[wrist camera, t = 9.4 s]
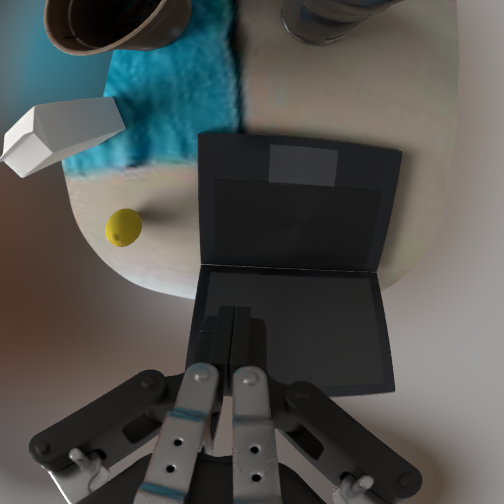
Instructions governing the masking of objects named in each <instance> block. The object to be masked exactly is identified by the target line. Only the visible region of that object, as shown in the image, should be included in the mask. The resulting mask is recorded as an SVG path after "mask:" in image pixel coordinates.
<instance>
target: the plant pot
mask: <svg viewBox="0 0 504 504" xmlns="http://www.w3.org/2000/svg"><path fill="white" fill-rule="evenodd" d="M131 1H132V0H47V1H46V5H45V10H44V24H45V29H46V33H47V35H48V37H49V39H50V41H51V42H52V43H53V45H55V46H56V47H57V48H58V49H59V50H61V51H63V52H65V53H68V54H72V55H81V56H83V55H94V54H98V53H102V52H105V51H112V50H116V49H123V50H138V51H150V50H154V49H158V48H161V47H164V46H166V45H168V44H169V43H171V42H172V41H174V40H175V39H176V38H177V37H178V36H179V35H180V34H181V33H182V32H183V31H184V30H185V28H186V27H187V25H188V23H189V21H190V18H191V15H192V3H191V0H135V1H134V2H133V3H132V4H131V5H130V7H129V9H128V10H126V7H127V6H128V4H129V3H130V2H131ZM150 3H152V4H153V5H152V7H149V4H150ZM139 16H142V18H141V19H139Z"/></svg>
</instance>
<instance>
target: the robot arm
mask: <svg viewBox="0 0 504 504" xmlns="http://www.w3.org/2000/svg"><path fill="white" fill-rule="evenodd" d="M402 1H404V0H285V1H284V4H283V7H282V11H281V19H282V23H283V25H284V27H285V29H286V30H287V32H288V33H289V34H290V35H291V36H292V37H294V38H295V39H296V40H298V41H300V42H302V43H305V44H308V45H313V46H325V45H329V44H332V43H334V42H336V41H337V40H339V39H341V38H344V37H346V36H343V35H344V34H346V33H347V32H348V31H350V30H351V29H353V28H354V27H355V26H357V25H358V24H360V23H361V22H363V21H364V20H365V19H367V18H368V17H370V16H371V15H373V14H374V13H378V12H381V11H383V10H386V9H387V8H389V7H391V6H393V5H395V4H397V3H399V2H402ZM342 36H343V37H342ZM266 342H267V338H266V325H265V323H264V321H263V319H262V318H251V307H239V306H236V311H235V306H221V305H220V306H219V311H218V316H210V315H208V316H207V317H206V318H205V320H204V321H203V322H202V325H201V329H200V333H199V337H198V341H197V346H196V350H195V354H194V359H193V363H192V365H191V366H190V367H188V369H187V370H186V372H184V373H182V374H179V375H175V376H168V377H164V375H163V374H162V373H161V372H159V371H157V370H144V371H142V372H140V373H138V374H137V375H135V376H134V377H132V378H130V379H129V380H127V381H126V382H124V383H122V384H121V385H119V386H118V387H116V388H114V389H113V390H111V391H110V392H108V393H106V394H105V395H103V396H101V397H100V398H98V399H96V400H95V401H93V402H91V403H90V404H88V405H87V406H85V407H83V408H81V409H80V410H78V411H76V412H75V413H73V414H71V415H70V416H68V417H67V418H64V419H63V420H61V421H59V422H58V423H56V424H54V425H52V426H51V427H49V428H47V429H46V430H44V431H42V432H40V433H38V434H37V435H35V436H34V437H33V438H32V439H31V441H30V444H29V452H30V455H31V457H32V458H33V459H34V460H35V461H36V462H38V463H39V464H40V465H41V466H42V467H43V468H44V469H46V470H47V471H48V472H49V473H50V474H51V476H52V478H53V480H54V481H55V483H56V485H57V486H58V488H59V489H60V491H61V493H62V494H63V496H64V497H65V499H66V500H67V502H68V503H69V504H326V503H325V502H324V501H323V500H322V499H321V498H320V497H319V496H318V495H317V494H316V493H315V492H314V491H313V490H312V489H311V488H310V487H309V486H308V484H307V483H306V482H305V481H304V480H303V479H302V478H301V477H300V476H299V475H298V474H297V473H296V472H295V471H293V470H292V469H291V468H289V467H287V466H286V465H284V464H281V463H279V462H278V458H277V448H276V438H275V428H276V429H279V432H280V433H281V434H282V435H283V436H284V437H285V438H286V439H287V440H288V441H289V442H290V443H291V444H292V445H293V446H294V447H295V448H296V449H297V450H298V451H299V452H300V453H301V454H302V455H303V456H304V457H305V458H306V459H307V460H308V461H309V462H310V463H311V464H312V465H313V466H314V467H315V468H317V469H318V470H319V471H320V472H321V473H322V474H323V475H324V476H325V477H326V478H327V479H328V480H330V481H331V482H332V483H333V484H334V485H335V486H336V487H335V489H334V491H333V495H332V496H333V501H334V503H335V504H399V503H401V502H403V501H405V500H406V499H408V498H410V497H412V496H413V495H415V494H416V493H417V492H418V491H419V490H420V488H421V485H422V476H421V473H420V472H419V470H417V469H416V468H415V467H414V466H413V465H411V464H410V463H408V462H407V461H406V460H405V459H403V458H402V457H401V456H399V455H398V454H397V453H396V452H394V451H393V450H392V449H391V448H389V447H388V446H387V445H385V444H384V443H383V442H382V441H380V440H379V439H378V438H377V437H375V436H374V435H373V434H372V433H371V432H369V431H368V430H367V429H366V428H364V427H363V426H362V425H361V424H360V423H358V422H357V421H356V420H355V419H354V418H352V417H351V416H350V415H349V414H348V413H346V412H345V411H344V410H343V409H342V408H340V407H339V406H338V405H337V404H336V403H335V402H333V401H332V400H331V399H330V398H329V397H328V396H327V395H325V394H324V393H323V392H322V391H321V390H320V389H318V388H317V387H316V386H315V385H314V384H312V383H310V382H306V381H297V382H294V383H292V384H290V385H287V384H284V383H280V382H278V381H276V380H274V379H273V378H272V377H271V376H270V375H269V374H268V372H267V343H266ZM229 389H230V396H233V421H232V422H233V423H232V424H233V426H232V427H233V455H231V456H223V457H214V456H213V455H214V443H215V438H216V434H217V429H218V424H219V420H220V415H221V410H222V409H221V407H222V404H223V396H229ZM158 434H159V436H158V439H157V442H156V445H155V448H154V451H153V453H151V454H148V455H146V456H144V457H142V458H141V459H139V460H138V461H136V462H135V463H134V464H132V465H131V466H130V467H128V468H127V469H125V470H124V471H123V472H121V473H120V474H118V475H117V476H116V477H114V478H113V479H111V480H110V481H108V482H107V483H105V482H106V481H107V480H108V478H109V475H110V470H109V467H111V466H112V465H114V464H116V463H117V462H119V461H120V460H122V459H123V458H125V457H126V456H127V455H129V454H131V453H132V452H134V451H135V450H137V449H138V448H140V447H141V446H143V445H144V444H145V443H147V442H148V441H150V440H151V439H152V438H154V437H155V436H157V435H158ZM104 483H105V484H104ZM103 484H104V485H103Z"/></svg>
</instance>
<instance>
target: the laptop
mask: <svg viewBox="0 0 504 504" xmlns="http://www.w3.org/2000/svg"><path fill="white" fill-rule="evenodd" d="M401 158H402V151H400V150H398V149H392V148H387V147H381V146H375V145H368V144H362V143H355V142H348V141H340V140H332V139H323V138H313V137H302V136H290V135H276V134H258V133H226V132H200V133H198V201H199V230H200V253H201V264H213V265H232V266H251V267H272V268H293V269H316V270H341V271H367V272H377V269H378V265H379V262H380V258H381V254H382V250H383V246H384V242H385V238H386V234H387V230H388V225H389V221H390V217H391V212H392V207H393V202H394V197H395V192H396V187H397V182H398V176H399V170H400V164H401Z"/></svg>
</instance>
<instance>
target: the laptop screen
mask: <svg viewBox="0 0 504 504" xmlns="http://www.w3.org/2000/svg"><path fill="white" fill-rule="evenodd" d="M220 305H221V306H235V311H236V306H239V307H251V318H262V319H263V321H264V323H265V325H266V338H267V342H266V343H267V372H268V374H269V375H270V376H271V377H272V378H273V379H274V380H276V381H278V382H280V383H284V384H287V385H290V384H292V383H294V382H297V381H306V382H310V383H312V384H314V385H315V386H316V387H317V388H318V389H320V390H321V391H322V392H323V393H324V394H325V395H327V396H328V397H329V398H334V397H349V396H350V397H351V396H364V395H374V394H384V393H393V392H395V383H394V374H393V365H392V357H391V350H390V343H389V337H388V330H387V324H386V319H385V313H384V308H383V302H382V297H381V292H380V287H379V282H378V278H377V273H376V272H348V271H323V270H299V269H277V268H257V267H237V266H218V265H201V268H200V274H199V280H198V286H197V292H196V298H195V304H194V311H193V317H192V324H191V330H190V337H189V345H188V351H187V359H186V366H185V372H186V370H187V369H188V367H190V366H191V365H192V363H193V359H194V354H195V350H196V346H197V341H198V337H199V333H200V329H201V325H202V322H203V321H204V320H205V318H206V317H207V316H208V315H210V316H218V311H219V306H220ZM229 396H230V389H229ZM231 397H233V396H231Z"/></svg>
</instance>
